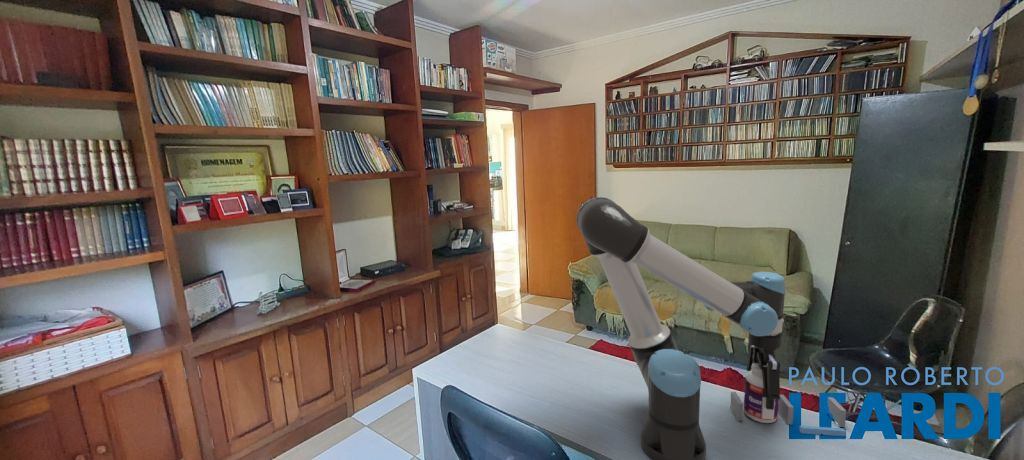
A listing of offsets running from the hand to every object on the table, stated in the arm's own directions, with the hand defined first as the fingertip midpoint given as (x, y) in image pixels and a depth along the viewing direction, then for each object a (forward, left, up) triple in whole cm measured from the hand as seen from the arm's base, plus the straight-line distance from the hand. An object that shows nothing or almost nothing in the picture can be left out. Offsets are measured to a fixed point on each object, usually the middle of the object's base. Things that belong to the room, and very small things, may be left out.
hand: (760, 408), depth 112 cm
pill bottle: (0, 0, -2) cm, 2 cm away
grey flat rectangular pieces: (-2, -6, -2) cm, 7 cm away
